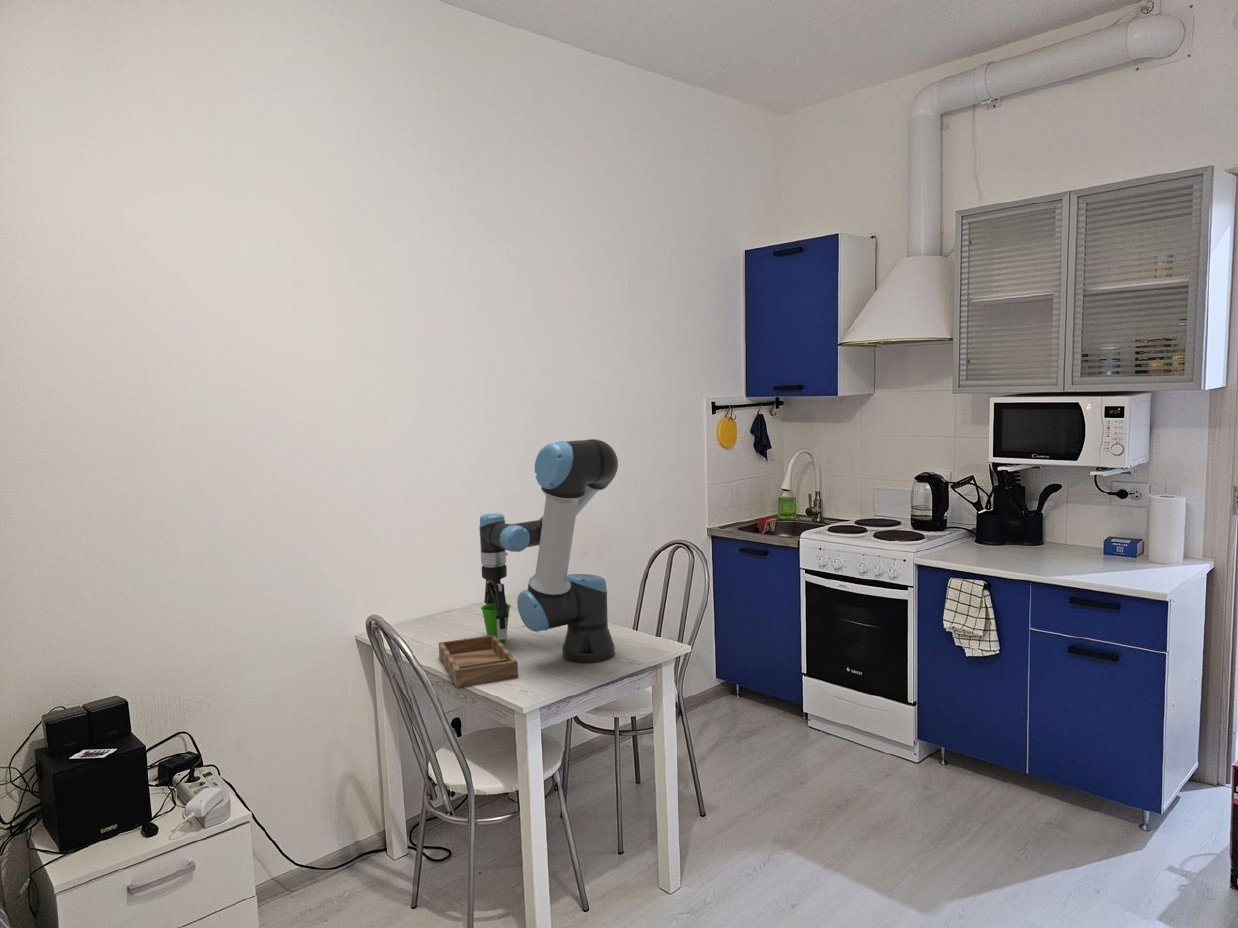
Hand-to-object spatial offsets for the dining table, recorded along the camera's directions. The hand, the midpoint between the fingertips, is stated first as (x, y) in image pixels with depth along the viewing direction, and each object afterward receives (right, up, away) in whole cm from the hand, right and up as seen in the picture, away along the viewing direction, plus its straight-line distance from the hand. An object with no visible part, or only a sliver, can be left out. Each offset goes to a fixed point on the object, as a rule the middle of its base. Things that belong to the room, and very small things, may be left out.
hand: (496, 633), depth 249 cm
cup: (0, -3, 0) cm, 3 cm away
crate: (-2, -5, -23) cm, 23 cm away
